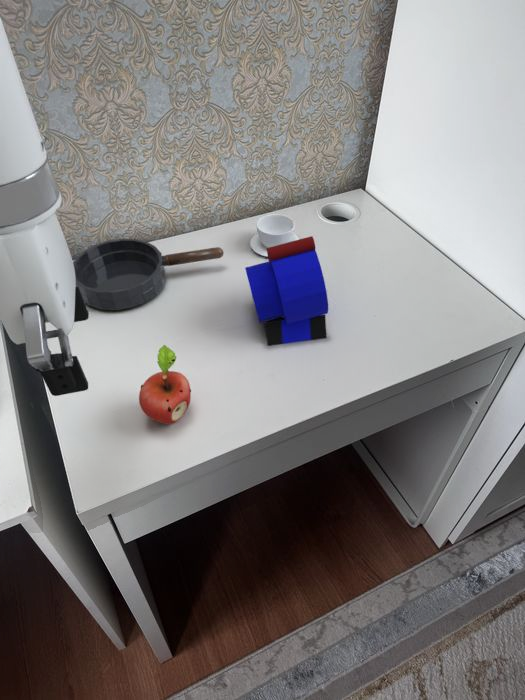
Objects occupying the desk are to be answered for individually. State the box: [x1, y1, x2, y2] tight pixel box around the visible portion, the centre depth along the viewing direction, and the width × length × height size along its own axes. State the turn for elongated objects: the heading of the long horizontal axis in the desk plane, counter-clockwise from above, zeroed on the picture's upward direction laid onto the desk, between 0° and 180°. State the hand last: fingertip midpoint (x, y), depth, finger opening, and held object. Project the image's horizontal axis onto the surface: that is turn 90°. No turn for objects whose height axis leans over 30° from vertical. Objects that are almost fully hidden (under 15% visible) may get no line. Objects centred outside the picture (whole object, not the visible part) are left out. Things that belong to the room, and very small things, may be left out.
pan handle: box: [162, 246, 224, 267], centre depth 86 cm, size 12×2×2 cm, turn 104°
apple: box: [138, 344, 192, 425], centre depth 63 cm, size 8×7×10 cm
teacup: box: [249, 213, 300, 258], centre depth 93 cm, size 10×10×5 cm
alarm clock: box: [244, 235, 329, 347], centre depth 75 cm, size 12×12×15 cm
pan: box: [73, 238, 167, 311], centre depth 85 cm, size 16×16×4 cm
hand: (72, 353), depth 47 cm, fingers open, 9 cm apart
